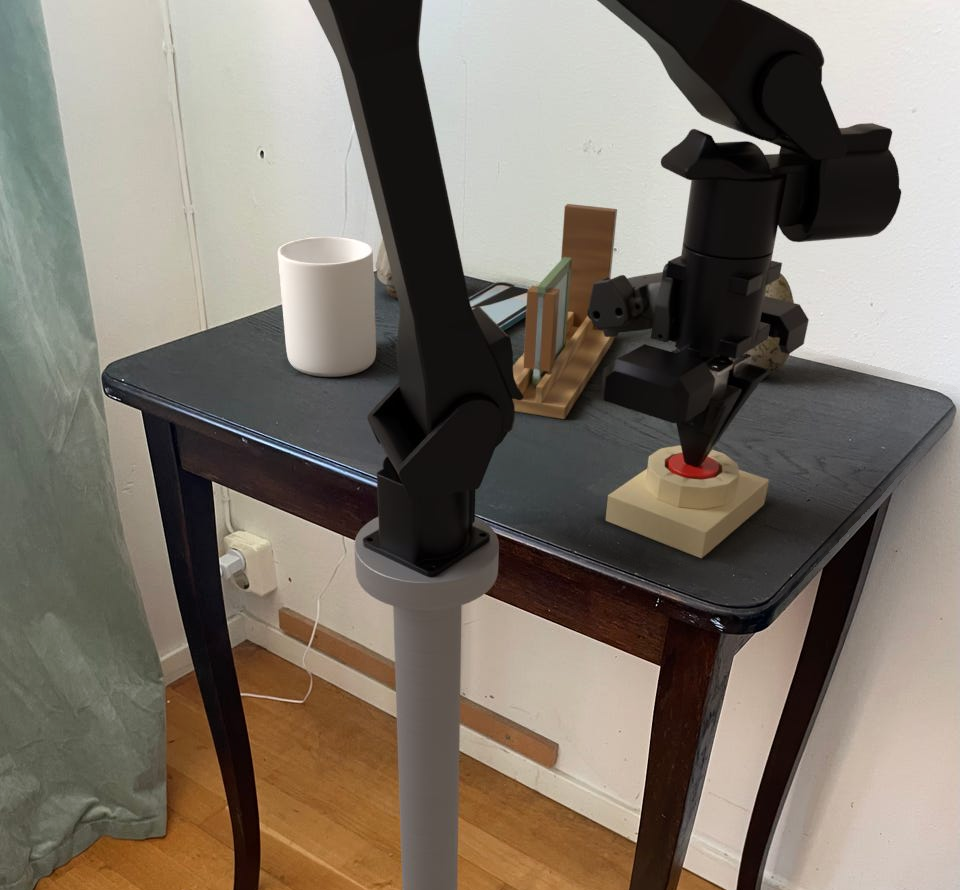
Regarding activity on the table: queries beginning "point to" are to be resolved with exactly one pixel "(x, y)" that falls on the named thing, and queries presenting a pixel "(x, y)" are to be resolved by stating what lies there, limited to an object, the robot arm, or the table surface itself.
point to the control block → (686, 503)
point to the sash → (547, 320)
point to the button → (693, 468)
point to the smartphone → (502, 303)
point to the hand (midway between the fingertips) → (693, 463)
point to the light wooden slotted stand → (574, 315)
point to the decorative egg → (769, 349)
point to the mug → (328, 305)
